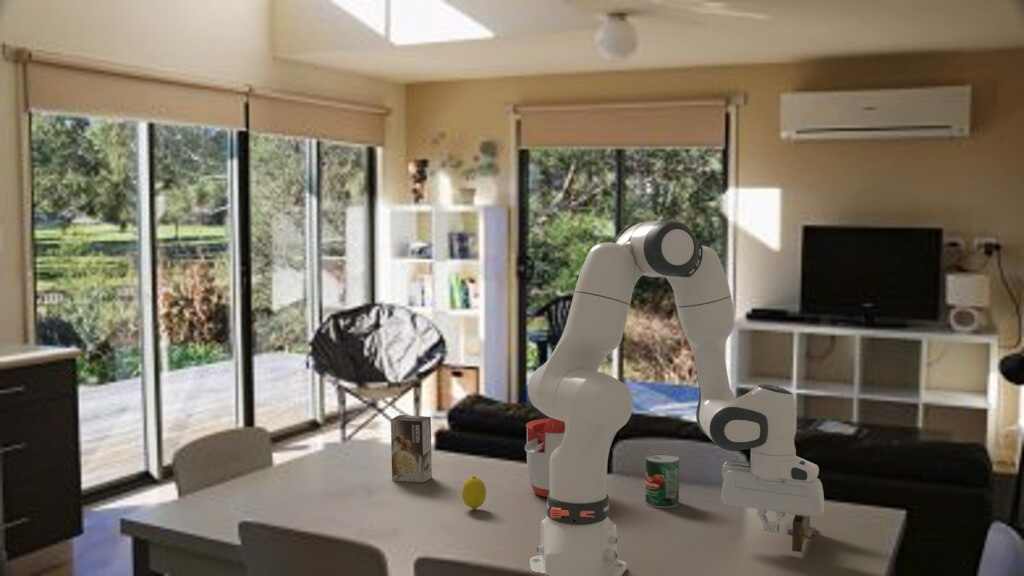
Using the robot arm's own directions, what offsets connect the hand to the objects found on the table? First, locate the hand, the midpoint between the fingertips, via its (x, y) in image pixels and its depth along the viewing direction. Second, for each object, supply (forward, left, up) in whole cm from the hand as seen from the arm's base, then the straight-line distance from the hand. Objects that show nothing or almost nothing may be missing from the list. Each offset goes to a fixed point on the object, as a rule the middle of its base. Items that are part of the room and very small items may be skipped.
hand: (771, 531), depth 197 cm
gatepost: (+13, -8, -4) cm, 15 cm away
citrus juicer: (+33, +48, -4) cm, 58 cm away
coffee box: (+40, +86, -4) cm, 95 cm away
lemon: (+17, +65, -4) cm, 67 cm away
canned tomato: (+29, +22, -4) cm, 36 cm away
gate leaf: (+2, -7, -2) cm, 8 cm away
